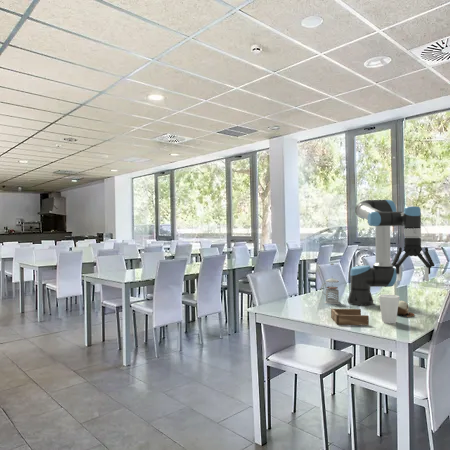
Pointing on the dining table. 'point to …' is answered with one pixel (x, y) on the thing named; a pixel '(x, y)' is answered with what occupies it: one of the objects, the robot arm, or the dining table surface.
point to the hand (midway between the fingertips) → (413, 280)
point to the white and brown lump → (404, 309)
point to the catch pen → (349, 317)
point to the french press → (332, 290)
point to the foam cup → (389, 307)
